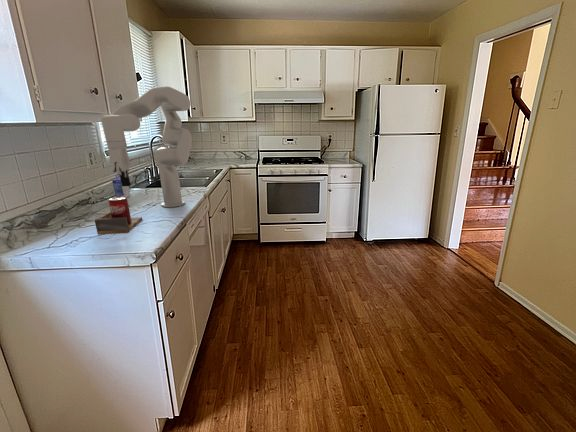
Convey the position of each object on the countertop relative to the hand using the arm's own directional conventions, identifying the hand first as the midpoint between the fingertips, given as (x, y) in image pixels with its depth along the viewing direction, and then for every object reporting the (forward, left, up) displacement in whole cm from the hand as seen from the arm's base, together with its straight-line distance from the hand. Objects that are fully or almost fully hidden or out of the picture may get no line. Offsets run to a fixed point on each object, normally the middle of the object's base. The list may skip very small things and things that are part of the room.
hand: (126, 185), depth 140 cm
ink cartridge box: (-54, -25, -17) cm, 62 cm away
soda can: (+11, 0, -16) cm, 19 cm away
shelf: (+8, -2, -17) cm, 19 cm away
